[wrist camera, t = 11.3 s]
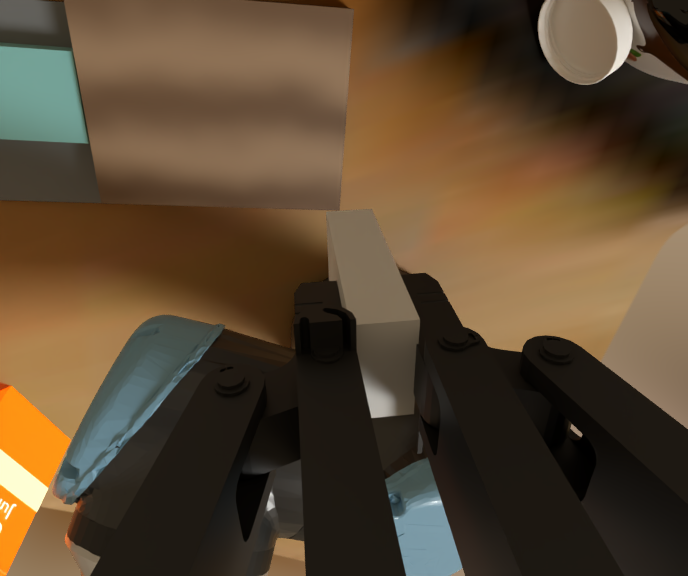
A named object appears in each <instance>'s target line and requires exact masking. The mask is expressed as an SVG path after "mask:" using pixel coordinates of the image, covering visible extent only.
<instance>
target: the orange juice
mask: <svg viewBox="0 0 688 576" xmlns="http://www.w3.org/2000/svg"><path fill="white" fill-rule="evenodd" d="M70 441H71V440H70V439H69V438H68V437H67V436H66V435H64V434H63V433H62V432H61V431H60V430H59V429H58V428H57V427H56V426H55V425H54V424H52V423H51V422H50V421H49V420H48V419H47V418H46V417H45V416H44V415H43V414H42V413H40V412H39V411H38V410H37V409H36V408H35V407H34V406H33V405H32V404H31V403H30V402H28V401H27V400H26V399H25V398H24V397H23V396H22V395H21V394H20V393H19V392H18V391H16V390H15V389H14V388H13V387H12V386H10V387H7V388H5V389H3V390H0V576H6V574H7V572H8V570H9V568H10V566H11V563H12V562H13V559H14V557H15V555H16V553H17V551H18V549H19V547H20V545H21V543H22V541H23V539H24V536H25V534H26V532H27V530H28V528H29V526H30V524H31V522H32V520H33V518H34V516H35V514H36V512H37V511H38V509H39V507H40V505H41V503H42V500H43V498H44V496H45V494H46V492H47V490H48V486H49V484H50V482H51V480H52V478H53V476H54V474H55V472H56V470H57V468H58V466H59V464H60V461H61V459H62V457H63V455H64V453H65V451H66V449H67V447H68V445H69V443H70Z"/></svg>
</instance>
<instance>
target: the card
mask: <svg viewBox="0 0 688 576" xmlns="http://www.w3.org/2000/svg"><path fill="white" fill-rule="evenodd" d="M0 139H7V140H27V141H47V142H67V143H86V144H89V143H90V140H89V134H88V129H87V124H86V118H85V113H84V107H83V102H82V96H81V91H80V86H79V80H78V75H77V69H76V64H75V58H74V53H73V48H69V47H55V46H42V45H28V44H15V43H1V42H0Z"/></svg>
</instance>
